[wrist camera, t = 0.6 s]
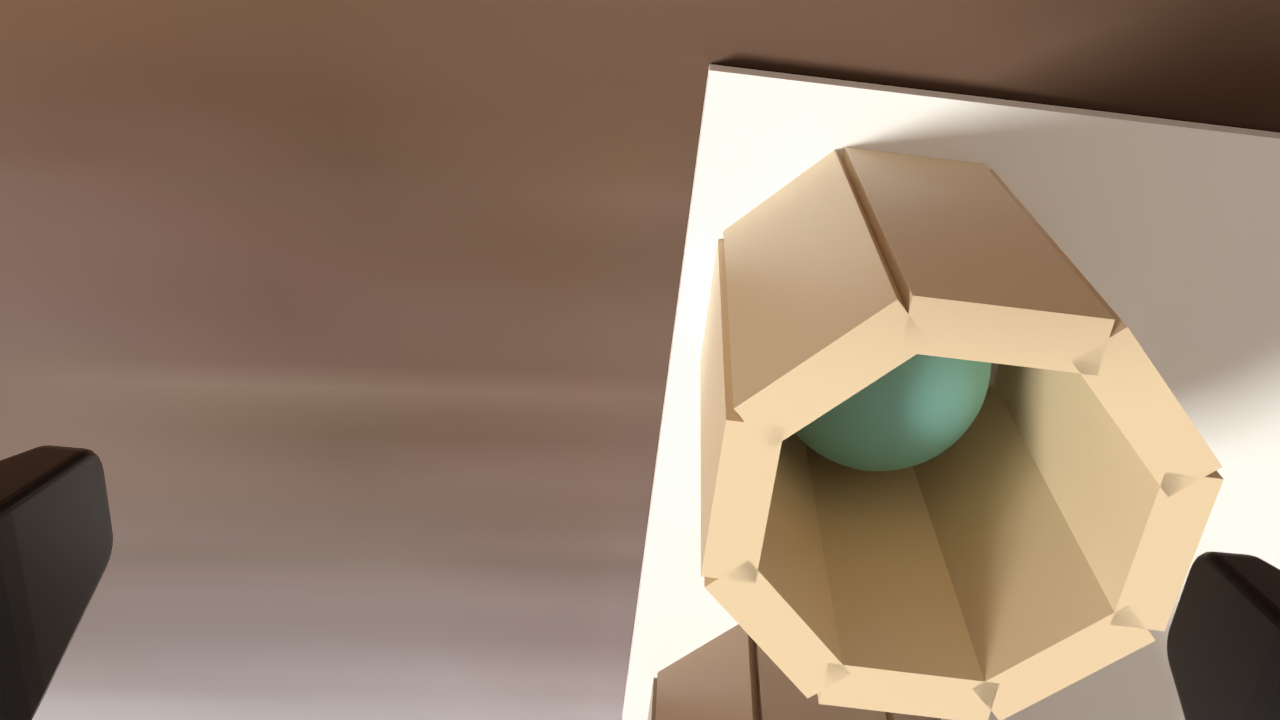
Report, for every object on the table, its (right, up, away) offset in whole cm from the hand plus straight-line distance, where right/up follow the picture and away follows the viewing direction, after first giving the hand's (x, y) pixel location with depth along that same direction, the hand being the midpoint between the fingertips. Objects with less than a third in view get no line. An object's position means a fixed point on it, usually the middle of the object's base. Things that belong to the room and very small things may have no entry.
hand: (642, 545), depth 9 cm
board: (+11, -4, +16) cm, 20 cm away
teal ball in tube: (+4, +1, +11) cm, 12 cm away
